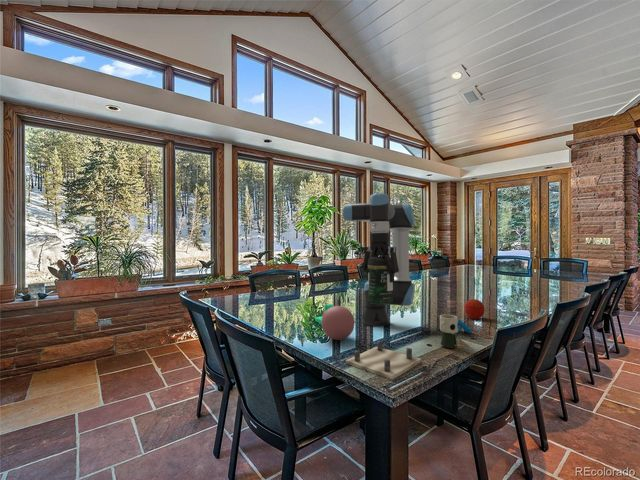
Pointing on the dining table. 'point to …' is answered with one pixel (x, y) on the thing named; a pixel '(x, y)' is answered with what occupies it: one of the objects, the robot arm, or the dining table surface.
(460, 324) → the blue irregular piece
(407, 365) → the locator plate
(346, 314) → the pink ovoid
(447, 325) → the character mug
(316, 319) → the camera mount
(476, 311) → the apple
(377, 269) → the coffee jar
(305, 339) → the dining table surface
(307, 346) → the dining table surface
